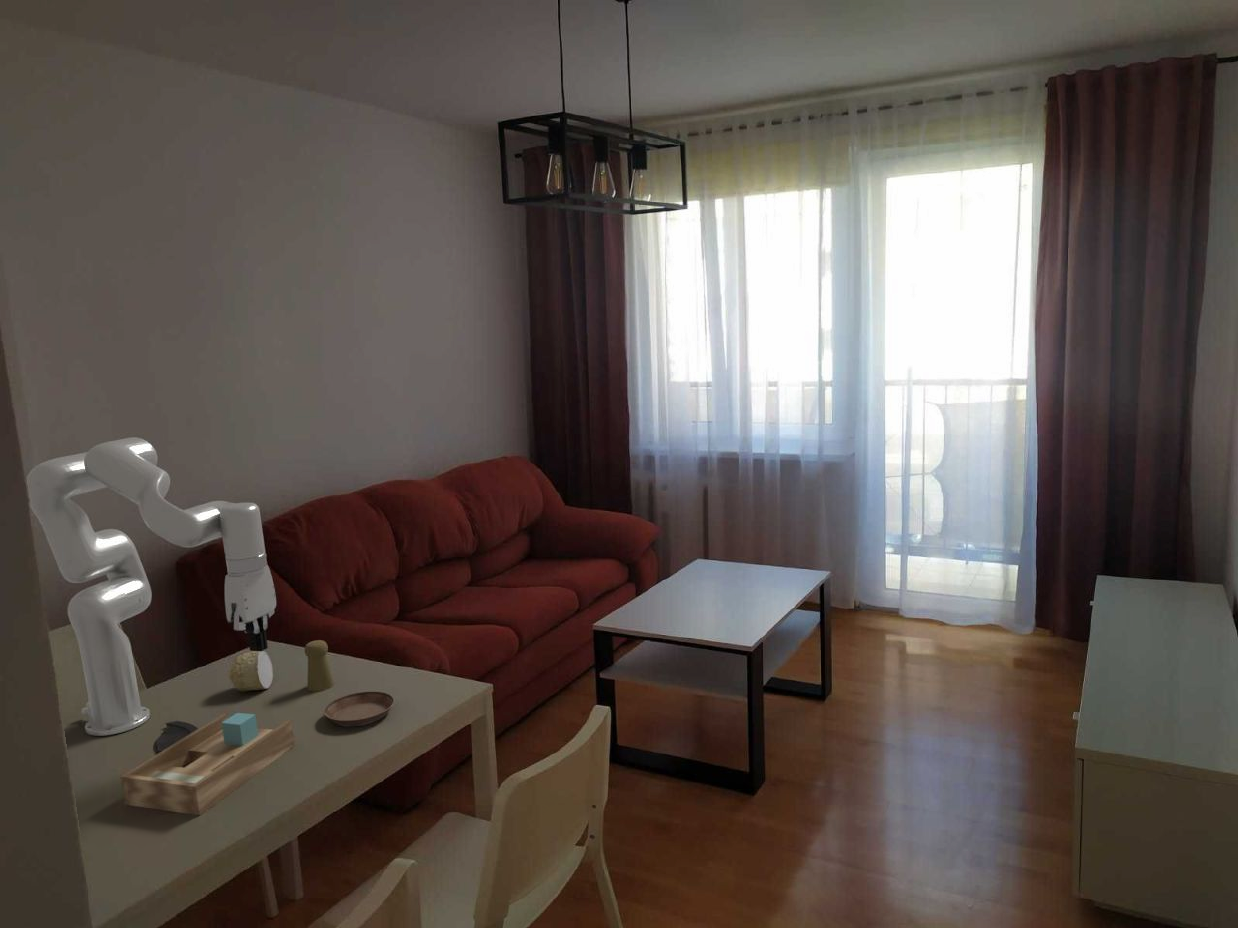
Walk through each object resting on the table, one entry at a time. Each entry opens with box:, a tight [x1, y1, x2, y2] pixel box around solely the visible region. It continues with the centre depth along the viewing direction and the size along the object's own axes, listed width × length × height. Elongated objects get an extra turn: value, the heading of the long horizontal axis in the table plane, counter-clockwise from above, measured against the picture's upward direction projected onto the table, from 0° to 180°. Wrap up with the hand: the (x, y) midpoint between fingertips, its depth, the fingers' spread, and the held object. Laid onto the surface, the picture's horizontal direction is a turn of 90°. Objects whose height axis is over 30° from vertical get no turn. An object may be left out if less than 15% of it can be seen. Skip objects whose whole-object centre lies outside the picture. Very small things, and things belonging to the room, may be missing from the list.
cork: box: [304, 639, 335, 693], centre depth 211 cm, size 6×6×11 cm
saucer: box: [323, 690, 395, 728], centre depth 195 cm, size 15×15×3 cm
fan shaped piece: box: [156, 720, 199, 754], centre depth 190 cm, size 8×14×2 cm, turn 26°
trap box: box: [120, 713, 296, 816], centre depth 173 cm, size 17×26×6 cm, turn 162°
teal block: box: [222, 712, 259, 746], centre depth 180 cm, size 4×4×4 cm
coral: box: [227, 650, 274, 692], centre depth 212 cm, size 10×10×10 cm
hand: (258, 649), depth 185 cm, fingers closed
